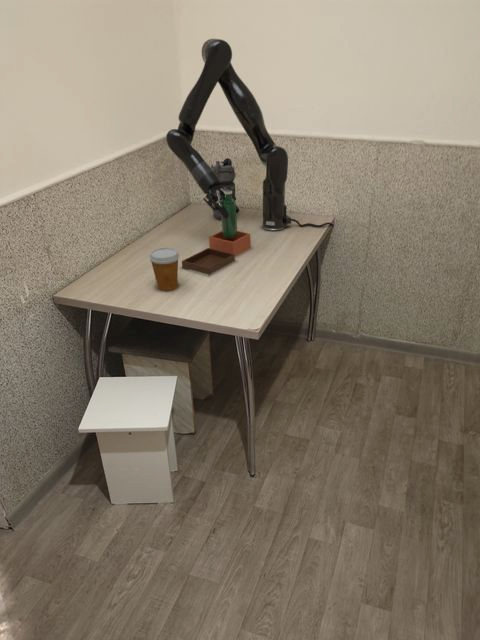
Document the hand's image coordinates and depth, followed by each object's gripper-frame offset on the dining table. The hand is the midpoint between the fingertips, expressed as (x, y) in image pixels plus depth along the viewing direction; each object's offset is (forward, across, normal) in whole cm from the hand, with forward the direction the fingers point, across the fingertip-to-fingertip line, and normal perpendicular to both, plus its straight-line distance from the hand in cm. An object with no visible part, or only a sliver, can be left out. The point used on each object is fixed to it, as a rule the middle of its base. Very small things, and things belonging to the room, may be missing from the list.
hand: (232, 214), depth 188 cm
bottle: (+5, 0, +7) cm, 8 cm away
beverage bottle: (-9, +32, +30) cm, 44 cm away
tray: (+10, -16, +10) cm, 21 cm away
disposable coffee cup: (+10, -38, +10) cm, 40 cm away
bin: (+9, 0, +11) cm, 14 cm away
